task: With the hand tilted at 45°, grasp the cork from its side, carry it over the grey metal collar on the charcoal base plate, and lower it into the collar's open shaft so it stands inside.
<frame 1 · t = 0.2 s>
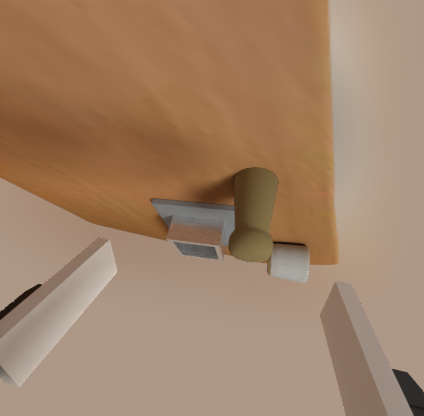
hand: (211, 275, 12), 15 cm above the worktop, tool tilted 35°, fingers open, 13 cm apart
metal collar: (199, 239, 43), on the base plate, point 4 cm above the worktop
ceramic mug: (287, 246, 48), on the worktop
base plate: (202, 224, 44), on the worktop
cork: (255, 180, 29), on the worktop
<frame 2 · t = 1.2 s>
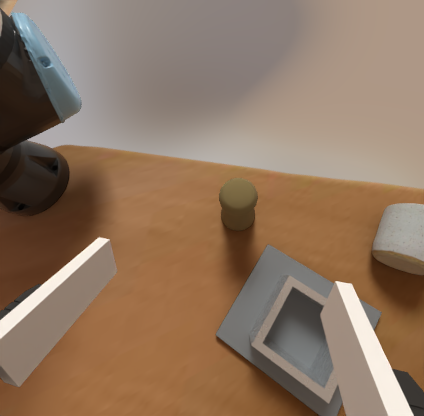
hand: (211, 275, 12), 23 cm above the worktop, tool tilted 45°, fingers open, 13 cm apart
metal collar: (301, 328, 28), on the base plate, point 4 cm above the worktop
ceramic mug: (399, 245, 33), on the worktop
base plate: (294, 322, 31), on the worktop
cork: (237, 214, 37), on the worktop
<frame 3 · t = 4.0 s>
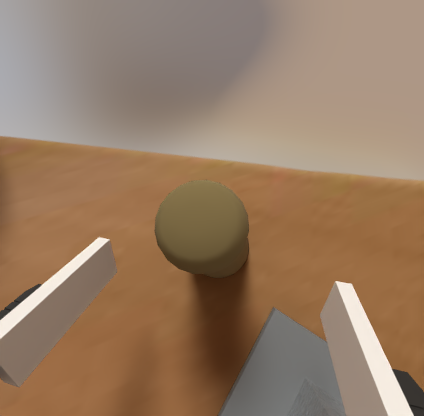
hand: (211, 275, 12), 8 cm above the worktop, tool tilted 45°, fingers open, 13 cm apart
cork: (218, 246, 21), on the worktop
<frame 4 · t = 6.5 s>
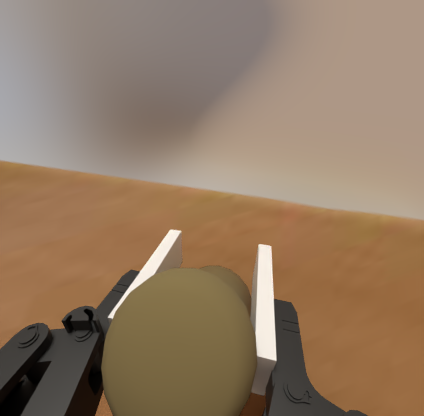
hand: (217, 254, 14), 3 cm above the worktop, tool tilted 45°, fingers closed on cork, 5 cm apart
cork: (213, 305, 16), on the worktop, touching gripper
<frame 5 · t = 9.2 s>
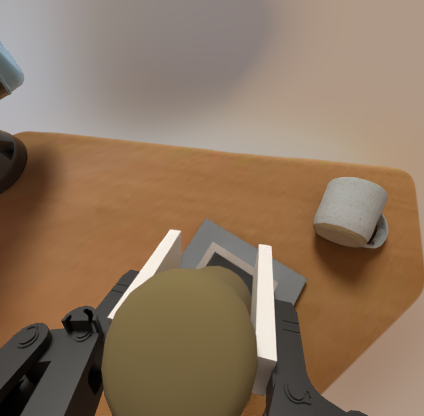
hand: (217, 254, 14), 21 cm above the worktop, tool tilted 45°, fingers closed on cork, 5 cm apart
metal collar: (225, 293, 29), on the base plate, point 4 cm above the worktop
ceramic mug: (343, 221, 34), on the worktop
base plate: (226, 291, 32), on the worktop
cork: (213, 305, 16), point 17 cm above the worktop, touching gripper
when the fingers open (11 cm above the worktop, at t = 12.2 s): cork drops 6 cm, resting on base plate.
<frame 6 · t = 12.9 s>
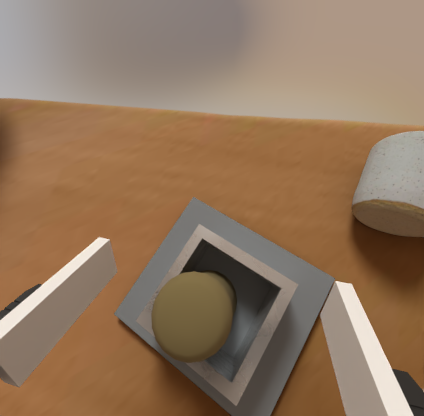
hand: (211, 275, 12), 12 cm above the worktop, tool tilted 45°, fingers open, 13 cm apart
metal collar: (218, 299, 20), on the base plate, point 4 cm above the worktop
ceramic mug: (391, 203, 24), on the worktop
base plate: (221, 295, 23), on the worktop
cork: (208, 299, 22), point 1 cm above the worktop, touching base plate
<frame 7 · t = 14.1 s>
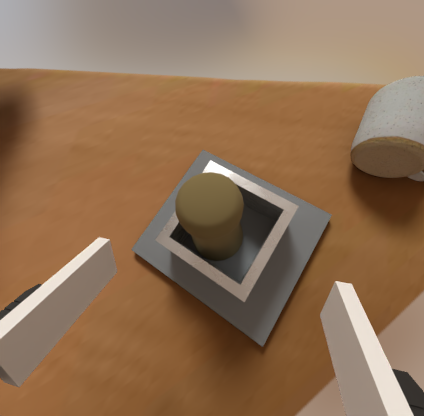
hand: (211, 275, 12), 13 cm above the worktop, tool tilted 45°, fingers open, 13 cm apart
metal collar: (226, 228, 22), on the base plate, point 4 cm above the worktop
ceramic mug: (387, 154, 26), on the worktop
base plate: (228, 234, 26), on the worktop
cork: (217, 235, 25), point 1 cm above the worktop, touching base plate
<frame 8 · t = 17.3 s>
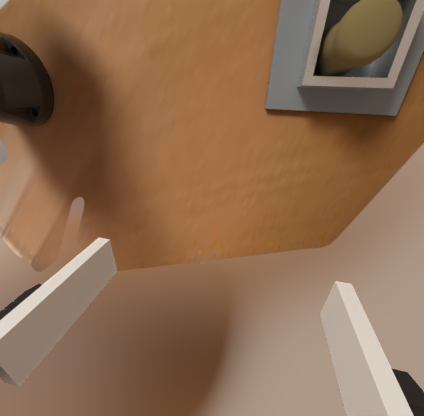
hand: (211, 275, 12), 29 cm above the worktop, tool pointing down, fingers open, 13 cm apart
metal collar: (353, 39, 25), on the base plate, point 4 cm above the worktop
base plate: (343, 45, 28), on the worktop
cork: (335, 52, 27), point 1 cm above the worktop, touching base plate
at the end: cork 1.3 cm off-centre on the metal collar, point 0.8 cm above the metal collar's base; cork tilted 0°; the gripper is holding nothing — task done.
